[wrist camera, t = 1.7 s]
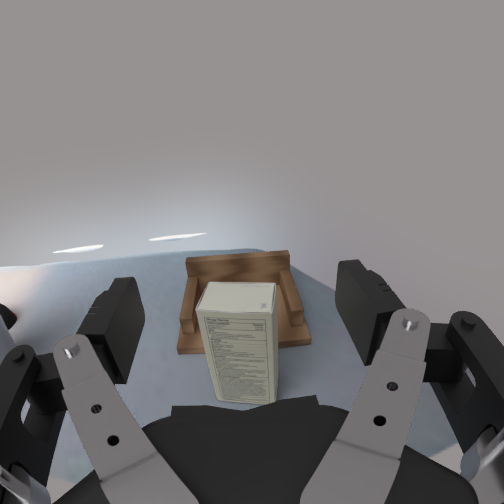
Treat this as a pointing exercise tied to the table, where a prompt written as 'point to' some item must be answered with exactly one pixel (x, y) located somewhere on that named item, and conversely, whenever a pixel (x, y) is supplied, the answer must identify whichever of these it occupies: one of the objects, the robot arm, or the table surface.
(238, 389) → the skincare box
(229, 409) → the robot arm
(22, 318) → the table surface
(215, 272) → the tray
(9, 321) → the computer mouse
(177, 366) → the table surface
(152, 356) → the table surface
